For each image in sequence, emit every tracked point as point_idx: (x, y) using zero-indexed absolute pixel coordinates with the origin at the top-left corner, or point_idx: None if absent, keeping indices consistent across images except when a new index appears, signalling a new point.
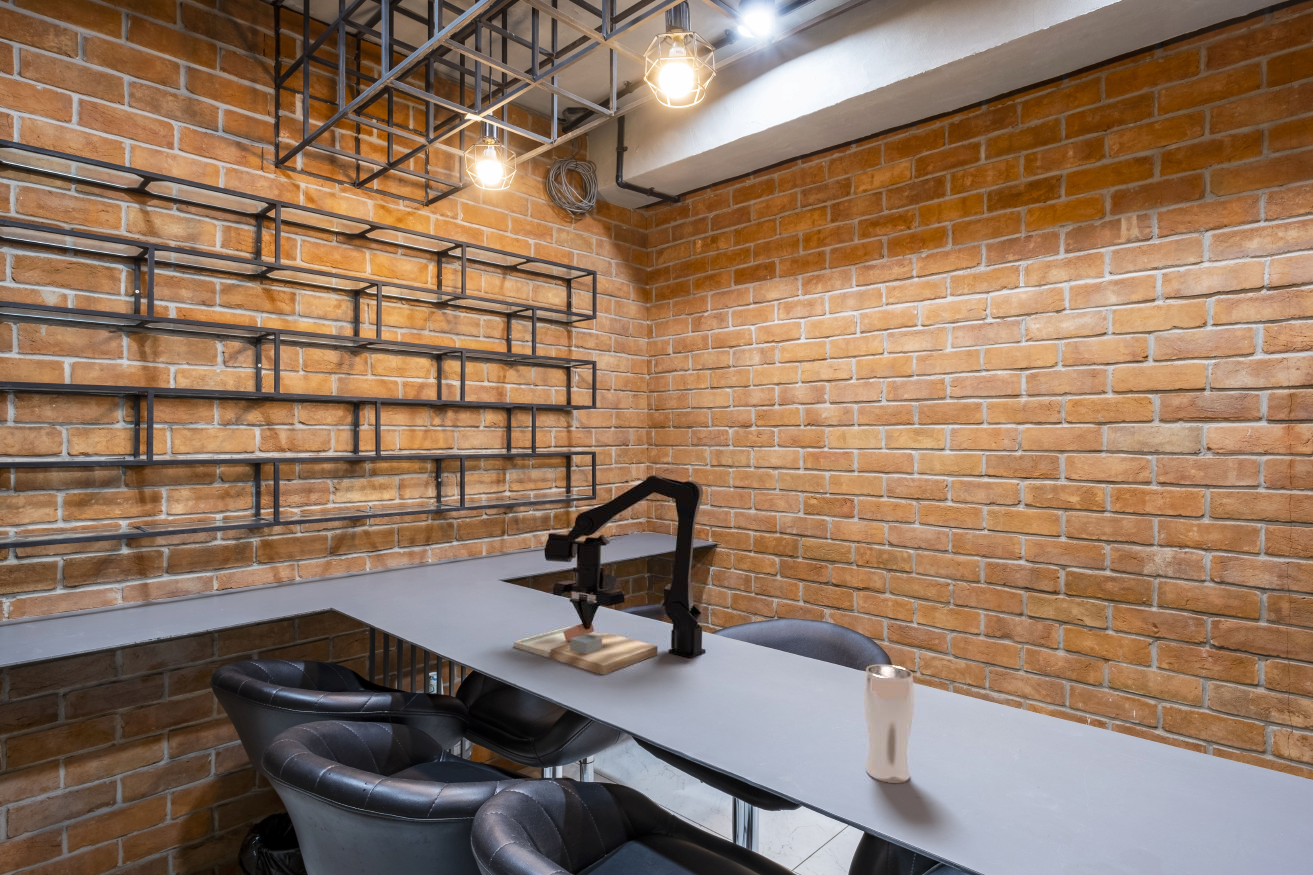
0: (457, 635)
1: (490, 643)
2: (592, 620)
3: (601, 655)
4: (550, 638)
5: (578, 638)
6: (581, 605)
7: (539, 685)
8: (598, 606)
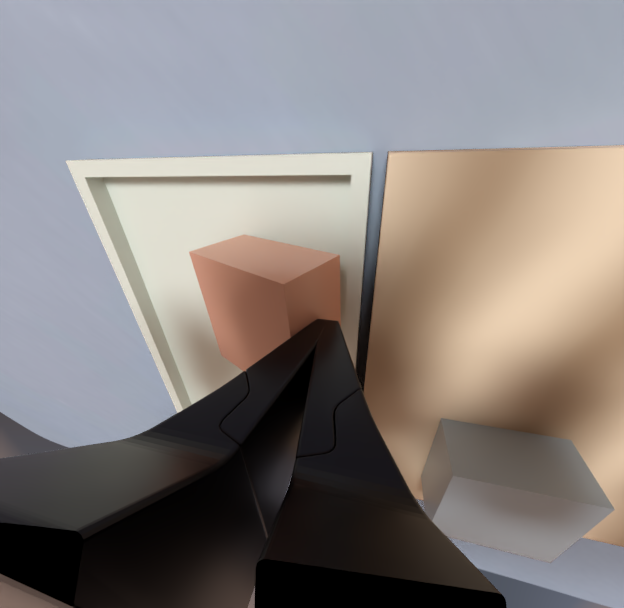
0: (50, 408)
1: (140, 421)
2: (349, 356)
3: (610, 492)
4: (186, 329)
5: (463, 525)
6: (246, 573)
7: (476, 565)
8: (425, 520)
